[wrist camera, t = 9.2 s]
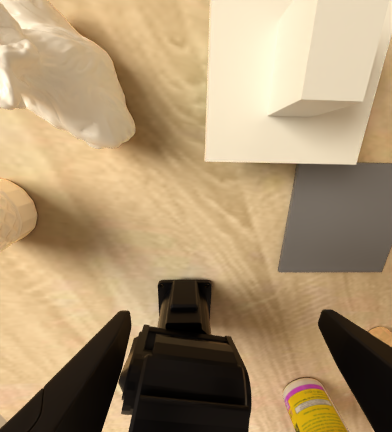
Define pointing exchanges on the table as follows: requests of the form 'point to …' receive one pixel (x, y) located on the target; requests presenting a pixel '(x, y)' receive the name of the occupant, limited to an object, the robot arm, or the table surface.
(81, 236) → the table surface
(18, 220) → the white cup
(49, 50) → the bust
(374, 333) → the milkshake
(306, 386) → the supplement bottle
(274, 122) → the lid
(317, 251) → the mat
